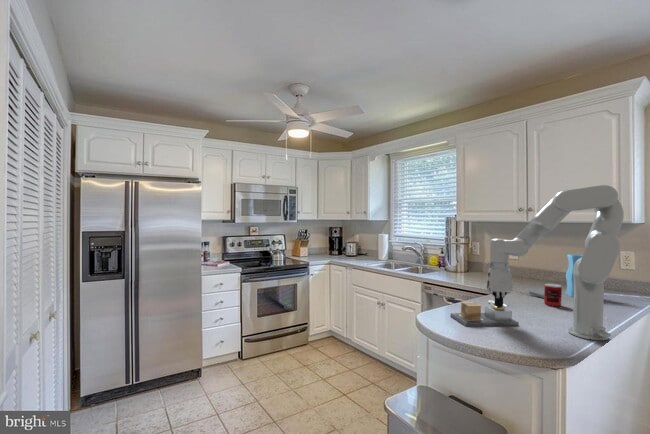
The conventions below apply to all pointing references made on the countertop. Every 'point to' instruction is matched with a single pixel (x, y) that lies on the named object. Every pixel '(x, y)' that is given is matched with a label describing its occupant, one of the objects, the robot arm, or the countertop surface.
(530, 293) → the kitchen whisk
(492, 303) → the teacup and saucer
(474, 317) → the oak block
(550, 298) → the canned food
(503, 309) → the gold lobed piece
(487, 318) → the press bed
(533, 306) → the countertop surface
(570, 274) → the vase
